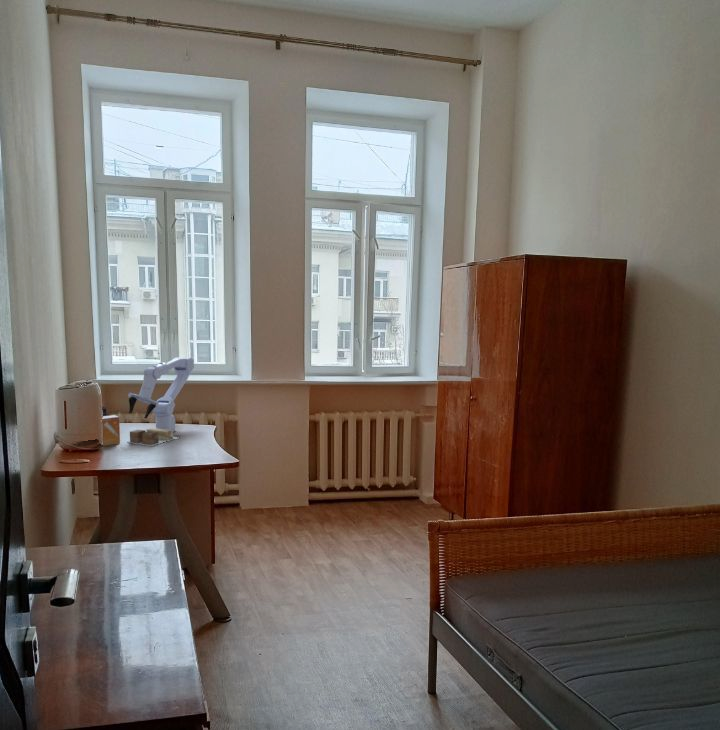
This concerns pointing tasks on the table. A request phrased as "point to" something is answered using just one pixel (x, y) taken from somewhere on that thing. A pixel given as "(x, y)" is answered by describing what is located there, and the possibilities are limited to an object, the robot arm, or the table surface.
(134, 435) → the cube
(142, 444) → the mat
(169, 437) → the lintel
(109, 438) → the small box
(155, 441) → the cube
